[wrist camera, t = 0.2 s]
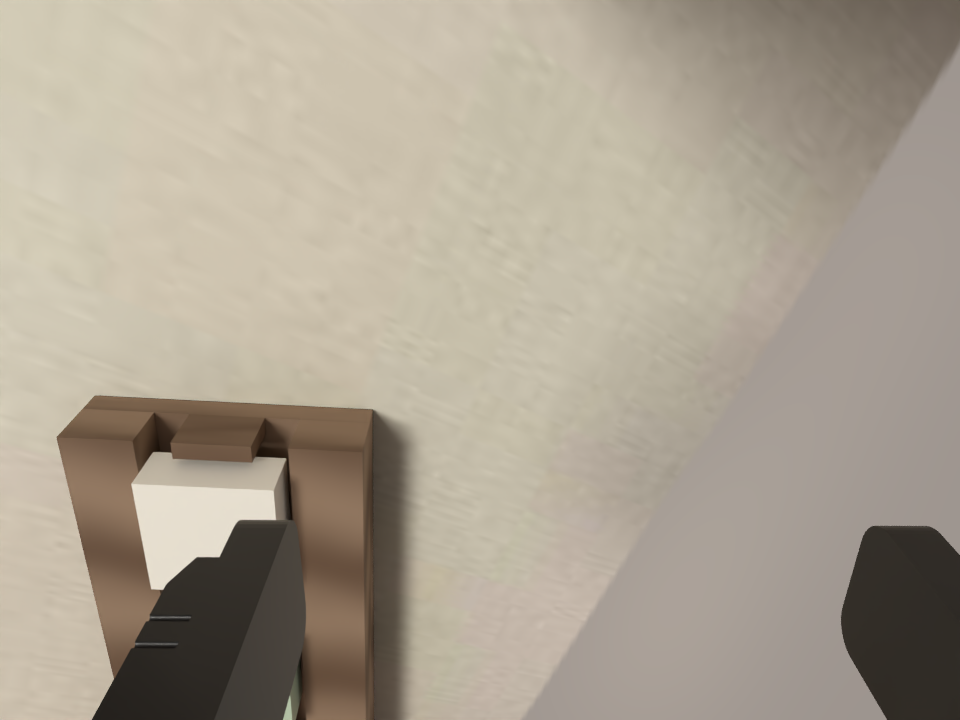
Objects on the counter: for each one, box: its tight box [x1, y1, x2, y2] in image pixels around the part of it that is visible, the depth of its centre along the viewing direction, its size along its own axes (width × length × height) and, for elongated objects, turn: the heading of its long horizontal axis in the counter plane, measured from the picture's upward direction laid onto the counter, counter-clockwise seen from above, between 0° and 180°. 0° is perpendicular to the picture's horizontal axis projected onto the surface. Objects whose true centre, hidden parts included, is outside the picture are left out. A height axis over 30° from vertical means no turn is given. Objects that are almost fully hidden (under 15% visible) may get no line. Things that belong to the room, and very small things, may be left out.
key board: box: [57, 396, 374, 720], centre depth 33 cm, size 23×11×3 cm, turn 176°
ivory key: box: [131, 452, 291, 590], centre depth 28 cm, size 5×5×2 cm
